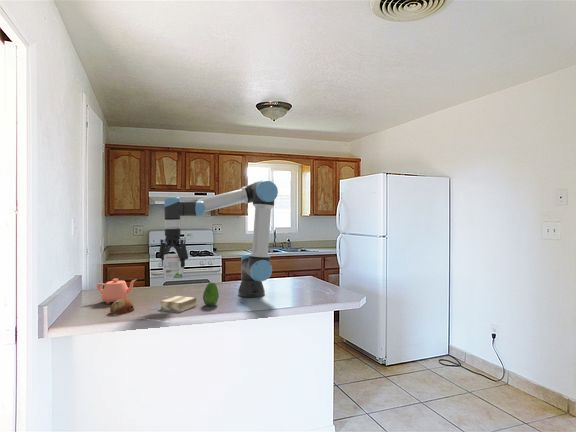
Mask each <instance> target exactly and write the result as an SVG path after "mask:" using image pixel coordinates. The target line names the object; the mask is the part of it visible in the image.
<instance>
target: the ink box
mask: <svg viewBox="0 0 576 432" xmlns="http://www.w3.org/2000/svg"><path fill="white" fill-rule="evenodd" d="M179 260H180V258H179V256H178V254H177V253H168V254H165V255H164V273H163V275H164V277H163V279H164V280H166V279H168V280H169V279H181V278H183V274H179Z"/></svg>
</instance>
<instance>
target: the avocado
mask: <svg viewBox="0 0 576 432" xmlns="http://www.w3.org/2000/svg"><path fill="white" fill-rule="evenodd" d="M219 295H220V293H219V290H218V286H217V284H216V282H208V283H207V285H206V287H205V289H204V291H203V295H202V301H203V303H204V304H205V306H207V307H213V306H215V305H217V304H218V301H219V298H220V297H219Z"/></svg>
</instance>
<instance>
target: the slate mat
mask: <svg viewBox="0 0 576 432" xmlns="http://www.w3.org/2000/svg"><path fill="white" fill-rule="evenodd" d="M196 306H198V304H196ZM196 306H194V307H193V308H195V307H196ZM148 310H153V311H161V312H163V311H164V312H169V313H177V314H178V313H181V312H183V311H181V312H180V311H172V310H164V309H161V304H157V305H156V306H153V307H152V306H151V307H149V308H148Z"/></svg>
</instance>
